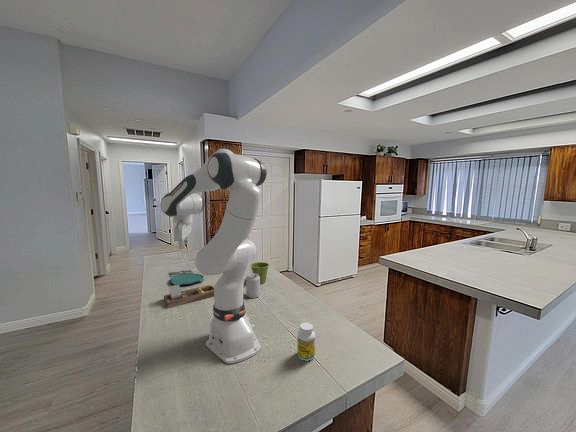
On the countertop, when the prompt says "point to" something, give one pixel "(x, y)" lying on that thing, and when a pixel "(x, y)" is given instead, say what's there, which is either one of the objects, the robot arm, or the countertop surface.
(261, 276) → the plant pot
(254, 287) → the can
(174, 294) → the steel block
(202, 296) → the walnut rail
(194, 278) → the cutlery set
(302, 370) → the countertop surface
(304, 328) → the supplement bottle
